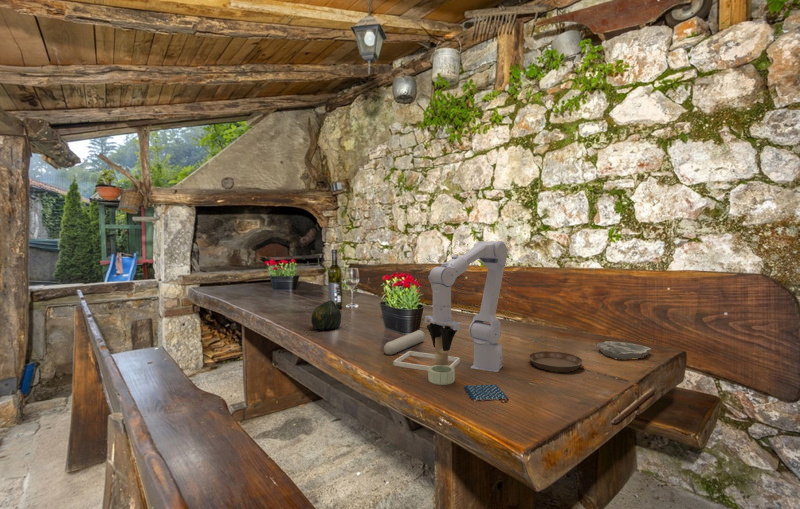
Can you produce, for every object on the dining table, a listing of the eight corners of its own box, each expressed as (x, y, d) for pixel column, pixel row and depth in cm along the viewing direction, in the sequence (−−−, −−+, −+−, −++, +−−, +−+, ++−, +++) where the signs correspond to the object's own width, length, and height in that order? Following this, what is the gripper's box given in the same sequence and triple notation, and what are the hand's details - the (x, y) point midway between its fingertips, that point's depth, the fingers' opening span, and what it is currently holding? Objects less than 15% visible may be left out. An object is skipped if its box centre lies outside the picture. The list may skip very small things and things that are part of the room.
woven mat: (510, 404, 106) (510, 397, 105) (472, 406, 105) (472, 398, 105) (497, 389, 116) (497, 383, 116) (462, 391, 115) (462, 384, 115)
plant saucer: (527, 371, 132) (527, 362, 132) (530, 356, 148) (530, 348, 148) (584, 378, 125) (584, 368, 125) (580, 361, 142) (581, 353, 142)
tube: (393, 347, 147) (426, 333, 168) (383, 340, 150) (416, 327, 170) (390, 359, 148) (423, 344, 169) (379, 353, 151) (413, 338, 172)
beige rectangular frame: (460, 363, 139) (460, 357, 139) (447, 375, 127) (447, 369, 127) (409, 356, 148) (409, 350, 148) (392, 366, 135) (392, 361, 135)
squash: (301, 318, 193) (316, 297, 187) (323, 314, 205) (337, 294, 199) (316, 340, 187) (331, 319, 181) (337, 335, 199) (352, 315, 193)
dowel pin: (449, 362, 122) (449, 337, 122) (445, 366, 118) (445, 340, 118) (437, 360, 124) (437, 335, 123) (433, 364, 120) (433, 338, 120)
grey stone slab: (616, 346, 163) (616, 339, 163) (658, 357, 148) (658, 349, 147) (584, 352, 154) (584, 344, 154) (625, 364, 139) (625, 356, 139)
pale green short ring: (457, 379, 123) (457, 367, 123) (449, 388, 116) (449, 374, 116) (433, 375, 127) (433, 363, 126) (424, 383, 119) (424, 371, 119)
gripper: (417, 303, 124) (417, 345, 125) (447, 310, 112) (447, 356, 113) (434, 301, 128) (434, 342, 129) (465, 307, 116) (465, 352, 117)
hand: (441, 348), depth 121 cm, fingers closed on dowel pin, 4 cm apart
